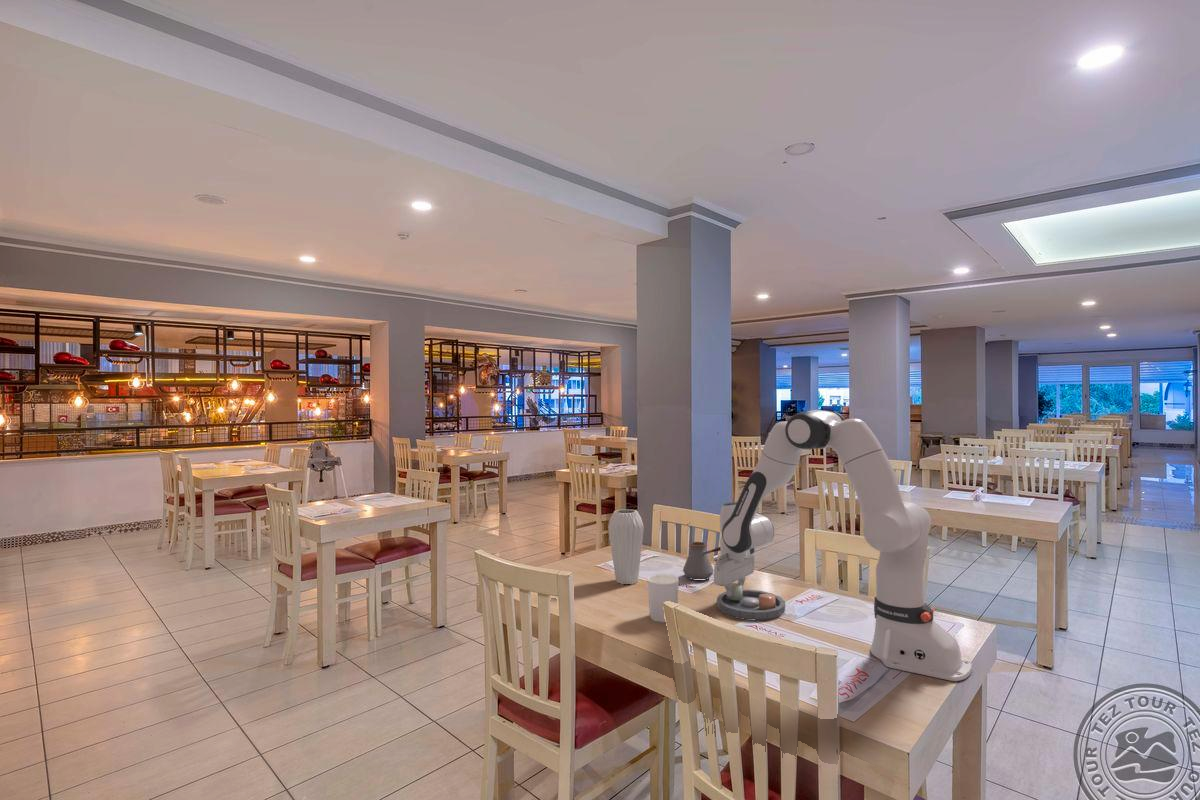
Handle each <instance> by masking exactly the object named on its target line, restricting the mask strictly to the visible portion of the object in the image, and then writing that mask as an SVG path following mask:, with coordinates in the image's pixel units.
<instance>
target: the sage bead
mask: <svg viewBox="0 0 1200 800" xmlns="http://www.w3.org/2000/svg"><path fill="white" fill-rule="evenodd" d="M731 589H732V590H733V595H732V596H727V598H728V599H730V600H741V599H743V593H742V585H741V584H738V582H737V583H735V582H732V586H731Z"/></svg>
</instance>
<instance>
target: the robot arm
mask: <svg viewBox="0 0 1200 800" xmlns="http://www.w3.org/2000/svg"><path fill="white" fill-rule="evenodd" d="M826 448H830V449H833V450H834V452H835V453H836V455H837V456H838V458H839V460H840V462H841V464H842V467H843V468H844V470H845V473H846V475H847V477H848V479H849V481H850V482H851V485H852V487H853V489H854V491H855V493H856V498H857V500H858V504H859V508H860V512H861V517H862V520H863V521H862V522H863V526H862V534H863V537H864V539H865V541H866V543H868V546H870V547H871V548H872V549H875V550H876V551H879V557H878V560H877V562H876V565H875V596H874V602H873V612H874V619H875V623H874V634H873V639H872V643H871V646H870V649H869V650H870V653H871V654H872V655H873V656H874V657H876V658H877V659H878V660H879V661H881V662H882V663H883V665H884V666H885V667H886V668H890V669H895V670H900V671H904V672H909V673H912V674H913V673H914V674H919V675H923V676H928V677H933V678H936V679H941V680H947V681H951V682H959V681H963V680H966V679H967V678H968V677H969V676H970V675H971V674H972V672H973V671H972V670H973V666H972V665H973V664H972V662H971V661H970V660H969V658H967V657H965V656H962V653H961V648H960V646H959V645H960V644H959V643H958V641H957V638H956V637H955V636H953V635H952V634H951V633H950V632H948V631H947V630H946V629H945V628H943V627H942V626H941V625H940V624H939V623H938V622H936V621H935V620H934V612H935V606H931V607H930V606H929V605H928V604H926V603H925V584H924V583H925V581H924V579H925V578H924V576H925V574H924V573H925V565H926V560H927V559H926V558H927V551H928V545H929V544H928V543H929V535H930V530H931V527H932V518H931V516H930V513H929V512H928V511H927V509H926V508H924V507H923V506H922V505H920V504H917V503H914V502H910V501H903V499H902V495H901V492H900V488H899V483H898V482H899V481H898V480H899V478H898V477H899V476H898V475H897V473H896V471H895V469H894V467H893V465H892V463H891V461H890V459H889V458H888V455H887V453H886V452H885V450H884V449H883V446H882V444H881V442H880V441H879V440H878V438H877V436H876V435H875V434H874V432H873V431H872V430H871V427H869V426H868V425H867V423H866V422H865V421H864V420H862V419H859V418H845V417H844V416H843V415H842V414H841V413H839V412H837V411H833V410H828V409H827V410H826V409H825V410H821V409H812V410H807V411H800V412H797V413H795V414H794V415H792V416H791V417H790V418H789V419H788V420H787V421H784V420H782V421H779V422H777V423H775V424H774V425H773V427H772V429H771V430H770V432H769V434H768V435H767V438H766V440H765V443H764V444H763V448H762V451H761V454H760V457H759V459H758V461H757V464H756V465H755V467H754V470H753V471H752V473H751V474H750V476H749V477H748V479H747V481H746V483H745V484H744V486H743V488H742V491H741V493H740V495H739V497H738V500H737V501H733V502H727V503H726V502H725V503H724V504H723V505H722V506H721V509H720V513H719V530H720V533H721V536H720V539H719V542H720V544H719V547H720V551H719V552H720V556H718V557H717V560H716V562H714V567H713V570H714V571H713V582H714V585H716V586H719V587H724V589H725V592H726V595H727V596H732V595H733V590H732V589H731V586H732V583H735V582H737V584H741V585H742V590H744V584H745V582H746V577H748V576H750V575H751V574H754V572H755V568H756V563H755V562H756V560H755V559H756V556H755V553H756V548H758V547H762V546H765V545H767V544H769V543H771V542H772V541H773V539H774V535H775V527H774V525H773V522H772V520H771V519H770V518H769V517H767V516H766V515H762V514H760V513H757V512H758V510H759V507H760V505H761V503H762V501H763V500H764V499H765V498H766V497H767V496H768V495H769V494H771V493H772V492H774V491H776V490H777V489H780V488H781V487H784V486H785V485H787V484H788V483H789V482H790V481H791V480H792V478H793V476H794V475H795V473H796V471H797V468H798V465H799V462H800V460H801V456H802V453H803V451H804V450H815V449H817V450H819V449H820V450H822V449H826Z"/></svg>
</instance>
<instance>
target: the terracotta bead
mask: <svg viewBox="0 0 1200 800" xmlns="http://www.w3.org/2000/svg"><path fill="white" fill-rule="evenodd" d="M773 608H775V596H774V595H771V594H760V595H759V609H760V610H768V609H773Z"/></svg>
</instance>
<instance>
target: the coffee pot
mask: <svg viewBox="0 0 1200 800" xmlns="http://www.w3.org/2000/svg"><path fill="white" fill-rule="evenodd" d="M706 546H707V543H706V542H702V541H692V542H689V547H690V551H689V554H688V556H687V559H686V560H685V564H684V566H683V568H682V571H683V573H684V575H685V576H686V577H687V578H688V577H689V578H692V579H707V578H708V579H709V578H710V577H712V576H713V575H714V567H713V566H712V563H711V561H710V559H709V556H708V554H710V553H714V552H721V551H720V546H719V547H716V548H714V549H711V550H706ZM689 578H688V579H689ZM708 579H707V580H708Z"/></svg>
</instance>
